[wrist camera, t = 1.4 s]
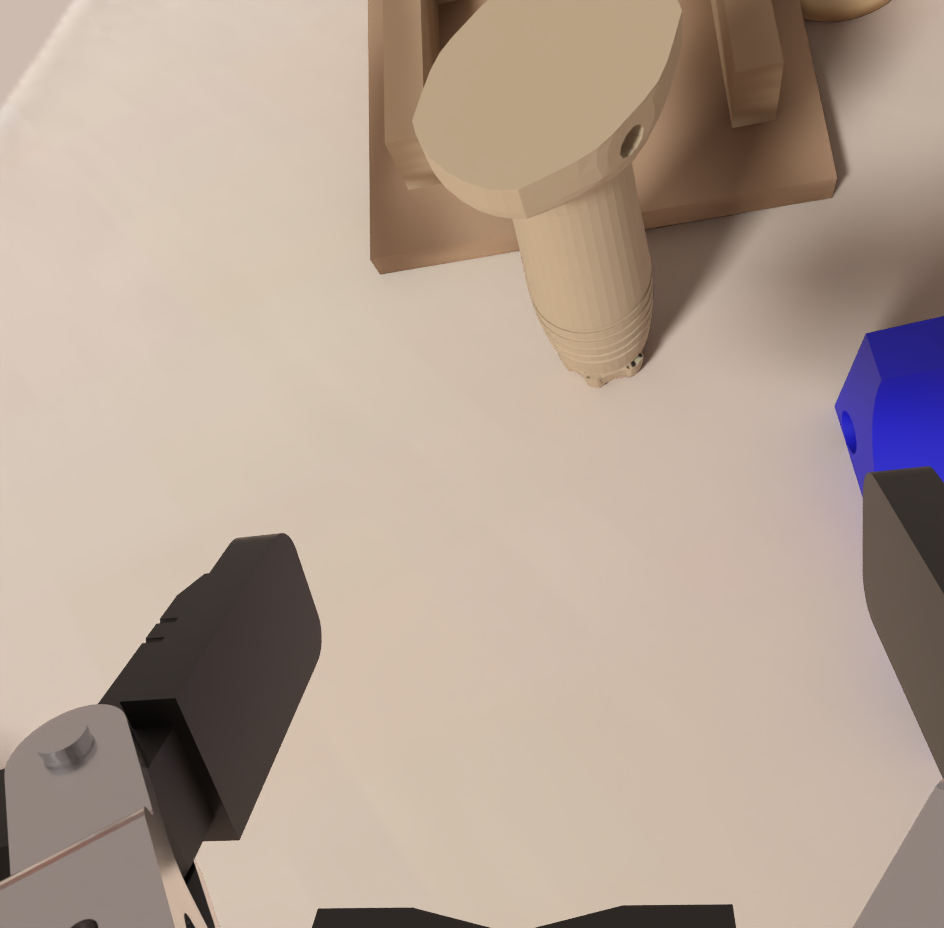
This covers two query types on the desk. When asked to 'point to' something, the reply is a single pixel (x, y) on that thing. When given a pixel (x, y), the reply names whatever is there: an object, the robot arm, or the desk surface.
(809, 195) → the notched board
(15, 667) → the desk surface
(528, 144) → the handle
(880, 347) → the cable clip
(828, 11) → the bobbin
